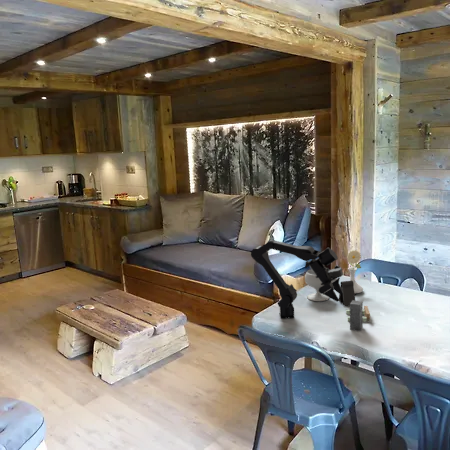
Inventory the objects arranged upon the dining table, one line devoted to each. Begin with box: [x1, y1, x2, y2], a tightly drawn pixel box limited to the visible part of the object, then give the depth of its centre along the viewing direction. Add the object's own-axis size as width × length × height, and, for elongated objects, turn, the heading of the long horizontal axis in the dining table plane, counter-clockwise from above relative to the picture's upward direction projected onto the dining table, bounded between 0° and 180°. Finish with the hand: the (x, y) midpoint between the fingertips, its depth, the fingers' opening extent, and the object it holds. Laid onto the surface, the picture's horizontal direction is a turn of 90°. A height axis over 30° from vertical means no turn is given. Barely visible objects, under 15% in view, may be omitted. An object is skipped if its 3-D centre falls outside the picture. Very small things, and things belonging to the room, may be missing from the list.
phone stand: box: [338, 280, 357, 308], centre depth 227 cm, size 9×6×12 cm, turn 7°
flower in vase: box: [346, 249, 364, 295], centre depth 241 cm, size 13×11×25 cm
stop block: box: [349, 299, 364, 332], centre depth 197 cm, size 4×4×12 cm
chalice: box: [304, 268, 331, 302], centre depth 237 cm, size 14×14×15 cm
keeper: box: [345, 305, 371, 323], centre depth 209 cm, size 10×10×4 cm
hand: (340, 297), depth 202 cm, fingers open, 9 cm apart
